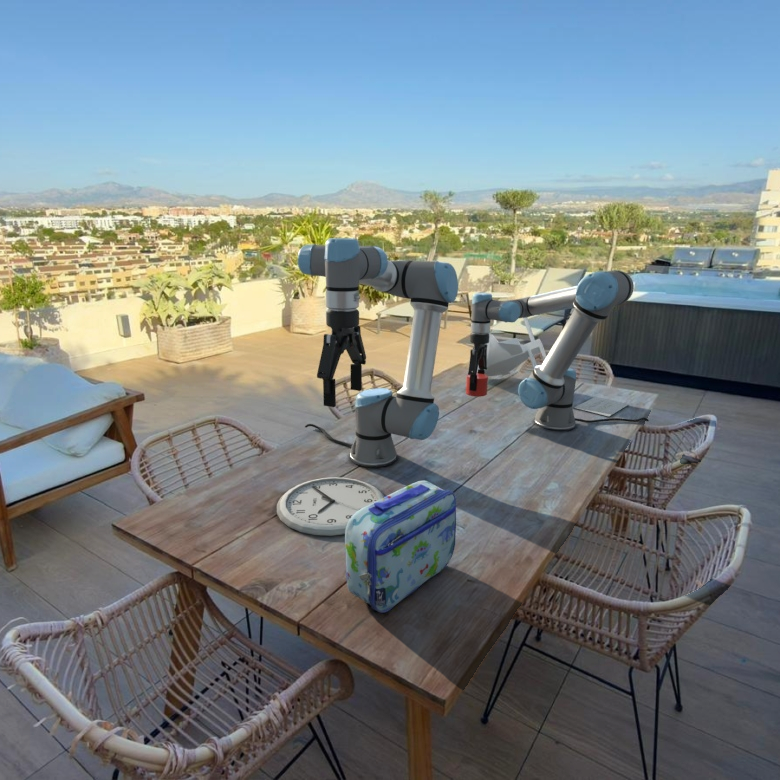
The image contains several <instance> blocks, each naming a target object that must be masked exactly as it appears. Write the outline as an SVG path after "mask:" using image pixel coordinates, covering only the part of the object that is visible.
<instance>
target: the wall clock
mask: <svg viewBox="0 0 780 780" xmlns="http://www.w3.org/2000/svg"><path fill="white" fill-rule="evenodd" d="M384 497H386V495H385V494H384V493H383V492H382V491H381V490H380V489H379V488H377V487H376V486H374V485H372V484H371V483H369V482H365V481H362V480H359V479H355V478H349V477H338V476H337V477H335V476H333V477H332V476H331V477H322V478H317V479H312V480H307V481H305V482H302V483H299V484H297V485H295V486H293V487H292V488H290V489H288V490H287V491H286V492H285V493H284V494H283V495H281V496H280V498H279V499H278V502H277V503H276V515H277V517H278V518H279V520H280V521H281V522H282V523H283V524H285V525H286V526H287V527H288V528H290V529H293V530H295V531H297V532H299V533H303V534H308V535H312V536H327V537H328V536H329V537H331V536H332V537H333V536H342V535H345V531H346V527H347V524H348V522H349V520H350V518H351V517H352V515H353V514H354V513H355V512H357V511H358V510H360V509H362V508H364V507H366V506H368V505H370V504H372V503H374V502H376V501H378V500H380V499H382V498H384Z"/></svg>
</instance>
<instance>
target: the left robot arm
mask: <svg viewBox="0 0 780 780" xmlns="http://www.w3.org/2000/svg"><path fill="white" fill-rule="evenodd" d="M296 261H297V266H298V269H299V270H300V272H301V274H304V275H305V276H306V275H307V276H312V277H324V278H325V307H326V308H327V310H326V311H325V323H326V326H327V327H328V328H330V329H331V333H330V334H328V333H324V334H323V345H322V350H321V354H320V357H319V363H318V368H317V372H316V378H317V379H320V380H321V379H322V390H323V391H322V393H323V395H322V396H323V406H324V407H330V408H336V407H337V405H336V404H337V401H336V399H337V398H336V397H337V395H336V393H337V391H336V378H334V377H335V374H336V370H337V368H338V365H339V362H340V359H341V355H343V354H344V352H345V351H346V352H347V354H348V357H349V359H350V361H351V362H352V363H351V364H350V390H351V391H357V392H358V391H359V393H358V394H357V395H356V396H355V405H354V410H355V411H354V412H355V437H354V439H353V442H352V443H348V442H345V441H341V440H338V439H335V438H333V437H331V436H329V434H328V433H327V432H326V430H325V429H324V428H322V427H320V426H319V425H316V424H314V423H307V424H306V425H304V428H309V427H312V428H315V429H317V430H319V431H321V432H322V433H323V436H324V437H325V438H326V439H328V440H330V441H332V442H335V443H337V444H340V445H344V446H347V447H351V448H350V452H349V459H350V461H351V462H352V463H353V464H355V465H357V466H359V467H364V468H374V469H375V468H382V467H387V466H390V465H392V464H394V463H395V462H396V461H397V450H396V447H395V443H394V441H393V438H392V435H395V436H400V437H405V438H409V439H410V440H418V441H423V440H426V439H428V438H429V437H430V436H431V435H432V434H433V432H434V431H435V429H436V426H437V424H438V421H439V417H440V416H439V415H440V408H439V405H437V403H434V402H435V396H434V395H433V393H432V392H431V389H432V383H433V377H434V369H435V365H436V357H437V351H438V350H437V349H438V344H439V343H438V342H439V337H440V330H441V324H442V318H443V317H442V316H443V313H445V312H446V311H448V310H449V304H451V303H454V302H455V301H456V299H457V297H458V292H459V279H458V274H457V271H456V268H455V267H454V265H452V264H451V263H449V262H445V261H444V262H443V261H438V260H435V261H433V260H408V259H406V260H404V259H403V260H402V259H401V260H388V256H387V254H386V252H385V251H384V249H382V248H381V247H379V246H374V245H367V246H361V245H360V242H359V240H358V239H357V238H347V237H346V238H345V237H344V238H341V237H340V238H335V237H330V238H328V239H327V240H326V241H325V244H316V243H313V244H304V245H303V246H301V248H300V249H299V250H298V252H297V260H296ZM360 285H364V286H369V287H372V288H373V289H374V290H375V291H377V292H381V293H385V294H388V295H391V296H394V297H398V298H402V299H407V300H408V299H409V300H410V303H409V305H410V306H411V308H412V309H413V315H412V323H411V324H412V325H411V330H410V335H409V343H408V349H407V356H406V362H405V369H404V370H405V371H404V376H403V384H402V387H401V388H399V390H397V392H396V396H393V394H394V393H393V391H392V389H390V388H386V387H385V388H384V387H381V388H380V387H379V388H370V389H365V390H362V389H363V388H362V387H363V386H362V385H363V383H362V382H363V380H362V379H363V377H362V376H363V375H362V373H363V371H362V370H363V368H362V366H364V365H366V363H367V354H366V350H365V346H364V342H363V337H362V333H361V331H362V330H361V326H360V310H359V309H358V308H359V307H360V300H361V295H360Z"/></svg>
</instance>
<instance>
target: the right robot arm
mask: <svg viewBox="0 0 780 780" xmlns="http://www.w3.org/2000/svg"><path fill="white" fill-rule="evenodd" d="M634 289H635V285H634V281H633V279H632V277H631V276H630V274H628V273H627V272H625V271H623V270H618V269H617V270H616V269H615V270H614V269H613V270H607V271H603V270H599V271H594V272H591V273H589V274H587V275H585V276H584V277H583V278H581V279H580V280H579V282H578V284H577V285H574V286H570V287H566V288H565V287H564V288H562V289H557V290H552V291H547V292H544V293H539V294H536V295H530V296H525V297H522V298H517V299H516V298H515V299H509V300H508V299H507V300H496V299H493V295H492V293H488V292H476V293H474V294H473V295H472V301H471V320H470V323H469V327H470V335H469V342H470V343H471V344H473V347H472V348H471V349H470V350H469V351H470V353H469V354H470V356H469V364H468V371H467V372H468V373H467V375H470V388H469V390H471V391H476V390H477V369H478V365H479V369H478V373H480V374H485V370H487V343H489V334H490V332H491V320H492V321H497V322H503V323H515V322H516V321H517V320H518V319H523V318H526V317H527V318H530V317H534V316H538V315H545V314H549V313H554V312H559V311H565V310H570V309H574V310H573V311H572V313H571V314H570V317H569V318H568V319H567V321H566V323H565V325H564V326H563V328H562V330H561V331H560V333H559V335H558V336H557V338H556V340H555V342H554V343H553V344H552V347H551V348H550V349H549V351H548V353H547V354H546V358H545V360H543V362H542V363H541V364H537V366H536V367H535V368H533V370H532V371H531V373H530V375H529V376H528V377H526V378H523V379H522V381H521V382H520V383H519V384H518V389H517V393H518V396H519V400H520V401H521V403H522V404H523V405H524V406H525V407H527V408H529V409H531V410H537V411H536V413H535V417H534V424H535V425H536V426H537V427H539V428H542V429H544V430H549V431H556V432H567V431H572V430H574V429H575V428H576V422H582V423H586V424H590V423H591V424H592V423H600V422H611V421H613V422H614V421H617V422H618V421H621V422H630V423H638V422H641V421H646V422H650V420H649V419H648V418H647V417H645V416H643V417H640V418H637V419H632V418H631V419H630V418H621V417H616V418H615V417H611V418H610V417H608V418H599V419H594V420H593V419H590V420H589V419H587V420H586V419H581V418H577V417H576V416H575V413H574V407H573V405H574V398H575V391H576V383H577V372H576V370H575V369H573V368H571V365H572V364H573V362H574V361H575V359H576V357H577V356H578V354H579V353H580V352H581V350H582V348H583V347H584V345H585V343H586V342H587V341H588V339H589V337H590V336H591V334H592V333H593V331H594V330H595V328H596V326H597V325H598V324H599V322H602V321H605V320H606V319H607V318H608V316H609V315H610V313H611V312H612V310H613V309H614V308H615V307H618V306H622V305H623V304H625V303H626V302H628V300H630V298H631V297H632V295H633V293H634ZM472 371H473V372H472Z"/></svg>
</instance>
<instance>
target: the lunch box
mask: <svg viewBox="0 0 780 780" xmlns="http://www.w3.org/2000/svg"><path fill="white" fill-rule="evenodd" d="M456 531H457V499H456V495H455V493H454V492H453V490H450V489H442V488H440V487H439V486H437V485H435V484H433V483H432V482H430V481H428V480H418V481H416V482H413V483H410V484H409V485H406V486H405V487H402V488H400V489H398V490H396V491H394V492H392V493H390V494H388V495H385V497H384V498H382V499H380V500H378V501H376V502H374V503H372V504H370V505H368V506H366V507H364V508H362V509H360V510H358V511H357V512H355V513H354V514H353V515H352V517H351V518H350V520H349V522H348V524H347V527H346V531H345V534H344V552H345V577H346V578H345V580H346V586H347V589H348V592H349V593H350V594H352V595H354V596H356V597H357V598H359V599H361V600H363V602H365V603H367V604H368V605H370V607H371V608H372V609H373V610H375V611H376V612H378V613H380V614H382V613H383V614H385V613H387V612H389V611H391V609H393V608H394V607H395V606H396V605H397V604H400V602H401V601H402V600H404V599H406V597H409V596H410V595H411V594H412V593H414V592H415V591H416V590H417V589H418V588H420V587H421V586H422V585H423V584H424V583H425V582H427V581H428V580H430V579H432V578H433V577H434V576H436V575H437V574H439V573H441V572H442V571H443V570H445V568H446V567H447V566H448V564H449V563H450V561H451V560H452V557H453V554H454V551H455V548H456V547H455V546H456Z"/></svg>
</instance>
